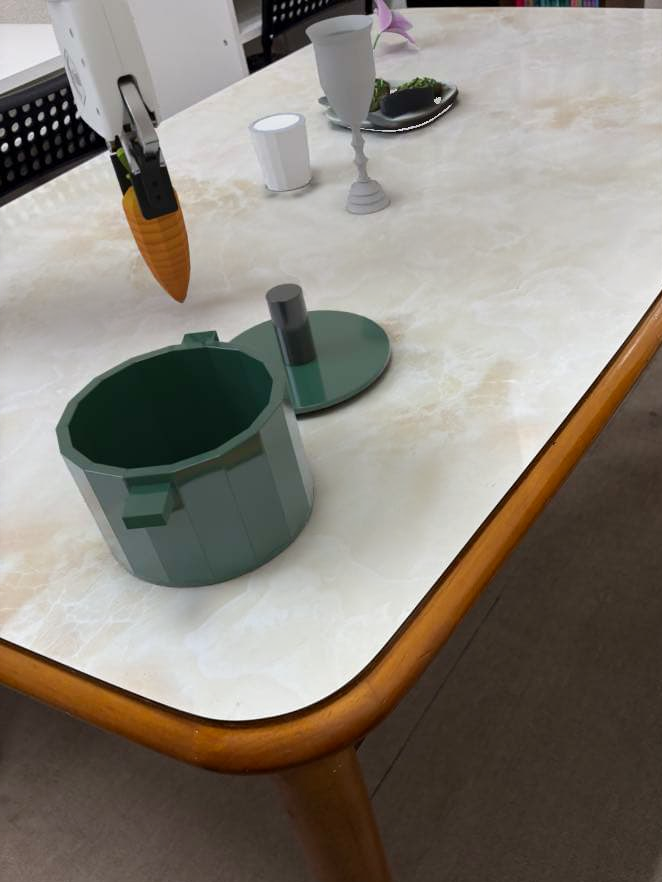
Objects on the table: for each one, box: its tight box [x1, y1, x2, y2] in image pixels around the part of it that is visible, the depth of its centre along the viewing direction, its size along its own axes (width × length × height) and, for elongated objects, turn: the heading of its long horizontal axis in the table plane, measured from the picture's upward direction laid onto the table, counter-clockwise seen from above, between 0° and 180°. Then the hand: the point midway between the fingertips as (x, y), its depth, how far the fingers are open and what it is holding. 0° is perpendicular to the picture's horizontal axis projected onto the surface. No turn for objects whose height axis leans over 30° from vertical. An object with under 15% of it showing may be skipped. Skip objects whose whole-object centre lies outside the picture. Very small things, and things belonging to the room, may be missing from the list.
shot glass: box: [247, 112, 313, 192], centre depth 103 cm, size 7×7×7 cm
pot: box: [55, 330, 314, 588], centre depth 58 cm, size 15×20×10 cm
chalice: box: [305, 14, 390, 215], centre depth 91 cm, size 7×7×18 cm
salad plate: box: [317, 76, 460, 134], centre depth 118 cm, size 19×18×5 cm
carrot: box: [115, 148, 191, 304], centre depth 78 cm, size 5×5×15 cm
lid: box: [228, 282, 392, 415], centre depth 71 cm, size 16×16×7 cm
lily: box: [372, 0, 420, 51], centre depth 139 cm, size 12×12×10 cm
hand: (150, 203), depth 77 cm, fingers closed on carrot, 4 cm apart
